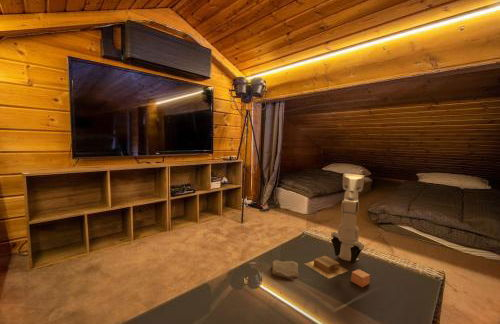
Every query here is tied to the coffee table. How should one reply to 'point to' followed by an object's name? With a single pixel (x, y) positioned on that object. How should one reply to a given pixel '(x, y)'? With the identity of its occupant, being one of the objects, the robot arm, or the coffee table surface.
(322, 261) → the walnut slab
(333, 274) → the plate
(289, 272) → the stone block
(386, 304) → the coffee table surface
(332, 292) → the coffee table surface
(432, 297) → the coffee table surface
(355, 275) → the terracotta cube
